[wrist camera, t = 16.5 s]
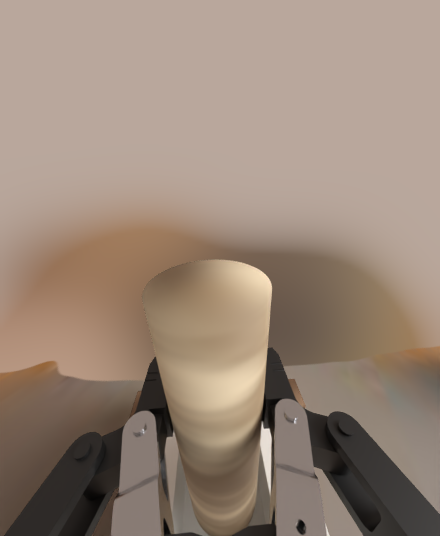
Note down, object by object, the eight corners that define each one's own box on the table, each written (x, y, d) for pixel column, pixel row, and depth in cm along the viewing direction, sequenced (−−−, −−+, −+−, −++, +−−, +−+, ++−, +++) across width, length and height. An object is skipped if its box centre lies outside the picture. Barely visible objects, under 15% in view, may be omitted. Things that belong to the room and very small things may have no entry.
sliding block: (329, 670, 12) (371, 659, 9) (131, 696, 12) (81, 698, 8) (272, 438, 23) (279, 387, 19) (167, 448, 23) (153, 398, 19)
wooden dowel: (227, 568, 11) (207, 354, 4) (178, 492, 14) (118, 289, 7) (268, 483, 14) (294, 278, 7) (220, 435, 17) (207, 252, 10)
